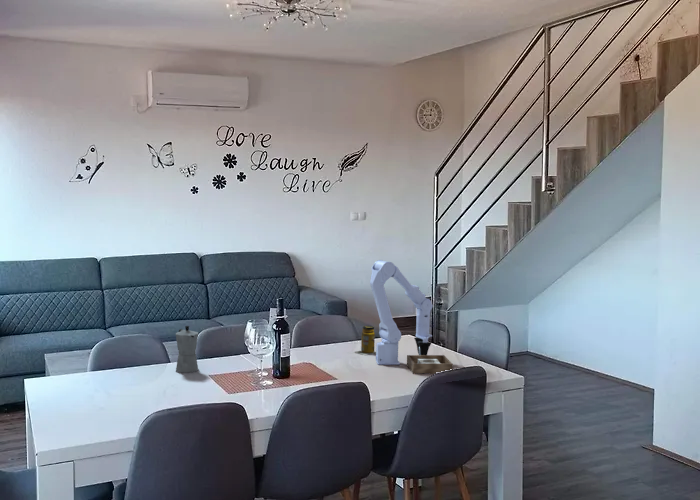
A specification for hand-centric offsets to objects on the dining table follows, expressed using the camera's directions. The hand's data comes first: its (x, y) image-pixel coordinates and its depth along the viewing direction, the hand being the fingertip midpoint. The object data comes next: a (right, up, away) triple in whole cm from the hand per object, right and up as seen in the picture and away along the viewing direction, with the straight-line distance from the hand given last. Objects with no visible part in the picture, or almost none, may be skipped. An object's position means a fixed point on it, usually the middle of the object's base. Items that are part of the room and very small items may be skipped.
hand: (422, 355), depth 308 cm
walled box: (+1, -3, -16) cm, 16 cm away
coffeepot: (-97, -2, -25) cm, 100 cm away
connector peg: (0, -2, 0) cm, 2 cm away
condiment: (-24, -1, +13) cm, 28 cm away
